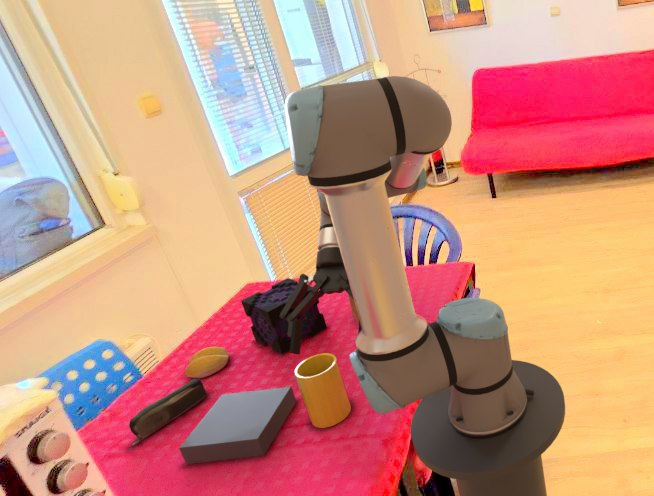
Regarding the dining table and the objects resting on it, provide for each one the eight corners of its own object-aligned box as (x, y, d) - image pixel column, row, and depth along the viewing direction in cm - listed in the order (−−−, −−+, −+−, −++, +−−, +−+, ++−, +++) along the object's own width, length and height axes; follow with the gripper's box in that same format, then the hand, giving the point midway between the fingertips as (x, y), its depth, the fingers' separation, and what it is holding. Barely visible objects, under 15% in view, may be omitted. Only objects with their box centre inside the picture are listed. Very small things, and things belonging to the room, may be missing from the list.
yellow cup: (355, 398, 108) (341, 351, 104) (343, 425, 101) (328, 375, 97) (319, 403, 108) (304, 355, 103) (305, 430, 101) (287, 380, 97)
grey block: (296, 401, 109) (291, 386, 107) (264, 455, 96) (257, 438, 94) (228, 409, 108) (221, 394, 107) (186, 464, 95) (178, 448, 94)
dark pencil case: (194, 375, 112) (115, 424, 99) (203, 377, 111) (125, 427, 98) (201, 394, 114) (125, 444, 101) (211, 396, 113) (135, 448, 100)
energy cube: (282, 354, 125) (267, 312, 120) (255, 341, 131) (240, 300, 127) (327, 328, 134) (314, 287, 130) (300, 317, 140) (287, 278, 136)
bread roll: (184, 384, 117) (177, 370, 116) (194, 361, 125) (188, 348, 124) (225, 373, 120) (220, 358, 118) (233, 351, 128) (228, 337, 126)
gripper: (398, 250, 119) (395, 345, 110) (287, 262, 118) (276, 358, 109) (387, 239, 112) (383, 339, 103) (269, 251, 111) (255, 353, 102)
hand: (328, 349), depth 106 cm, fingers open, 13 cm apart
